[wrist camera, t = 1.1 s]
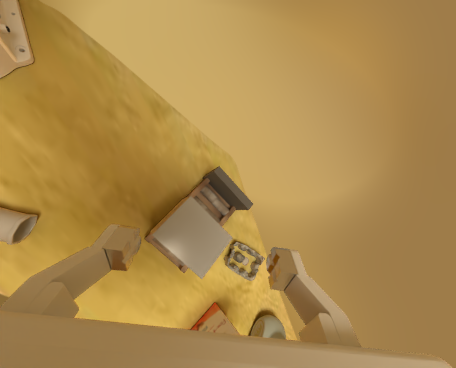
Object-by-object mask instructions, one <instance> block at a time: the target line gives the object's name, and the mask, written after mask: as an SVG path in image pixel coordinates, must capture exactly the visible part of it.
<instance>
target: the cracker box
mask: <svg viewBox="0 0 456 368" xmlns="http://www.w3.org/2000/svg"><path fill="white" fill-rule="evenodd" d="M191 330H197V331H206V332H216V333H226V334H235V335H240V334H239V333H238V331H237V330H236V329H235V327H234V326H233V325H232V323H231V322H230V321H229V320H228V318H227V317H226V316H225V314H224V313H223V312H222V310H221V309H220V308H219V307H218V305H217V304H216V303H214V304H213V305H212V306H211V308H210V309H209V310H208V311H207V312H206V313H205V314H204V315H203V317H202V318H201V319H200V320H199V321H198V322H197V323H196V324H195V326H194V327H193V328H192V329H191Z"/></svg>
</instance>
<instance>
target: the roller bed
mask: <svg viewBox="0 0 456 368" xmlns="http://www.w3.org/2000/svg"><path fill="white" fill-rule="evenodd" d="M203 179H204V180H203V181H202V182H201V183H200V184H199V185H198V186H197V187H196V188H195V189H194V190H193V191H192V192H191V193H190V194H189V195H188V196H187V197H189V196H192V197H193V198H194V199H195V200H196V202H197V203H198V204H199V205H200V206H201V207H202V208H203V209H204V210H205V211H206V212H207V213H208V214H209V215H210V216H211V217H212V218H213V219H214V220H215V221H216V222H217V223H218V224H219V225H220V226H221V227H222V226H223V225H224V223H225V222H226V221H227V220H228V218H229V217H230V216H231V215H232V213H233V212H234V211H235V210H249V209H250V208H251V206H252V205H253V203H252V202H251V201H250V200H249V199H248V198H247V196H246V195H245V194H244V193H243V192H242V191H241V190H240V189H239V188H238V186H237V185H236V184H235V183H234V182H233V181H232V180H231V179H230V178H229V176H228V175H227V174H226V173H225V172H224V171H223V170H222V169H221V168H220V166H219V167H217V168H216V169H214V170H212V171H211V172H209V173H208V174H206V175H205V176H204V177H203ZM187 197H186V198H187ZM145 240H146V241H147V242H149V243H151V244H152V245H154V246H155V247H156V248H157V249H158V250H159V251H160V252H162V253H163V254H164V255H165V256H166V257H167V258H168V259H170V260H171V261H172V262H173V263H174V264H175V265H176V266H178V267H179V269H180V270H181V271H182V272H183V273H185V271H186V270H187V269H188V268H189V267H188V266H186V265H185V264H184V263H183V262H182V261H181V260H180V259H179V258H177V257H176V256H175V255H174V254H173V253H172V252H171V251H170V250H168V249H167V248H166V247H165V246H164V245H163V244H162V243H161V242H159V241H158V240H157V239H156V238H155V237H154V236H153V235H152V233H151V232H150V233H149V234H148V235H147V236H146V237H145Z"/></svg>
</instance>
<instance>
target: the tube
mask: <svg viewBox="0 0 456 368" xmlns="http://www.w3.org/2000/svg"><path fill="white" fill-rule="evenodd" d="M37 217H38V215H35V214H25V213H21V212H17V211H13V210H9V209H5V208H1V207H0V241H4V242H7V244H10V245H11V244H16V243H20V242H21V241H22V240H23V239H25V238H26V237H27V236H28V235H29V234H30V232H31V231H32V229H33V227H34V226H35V224H36V222H37Z"/></svg>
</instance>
